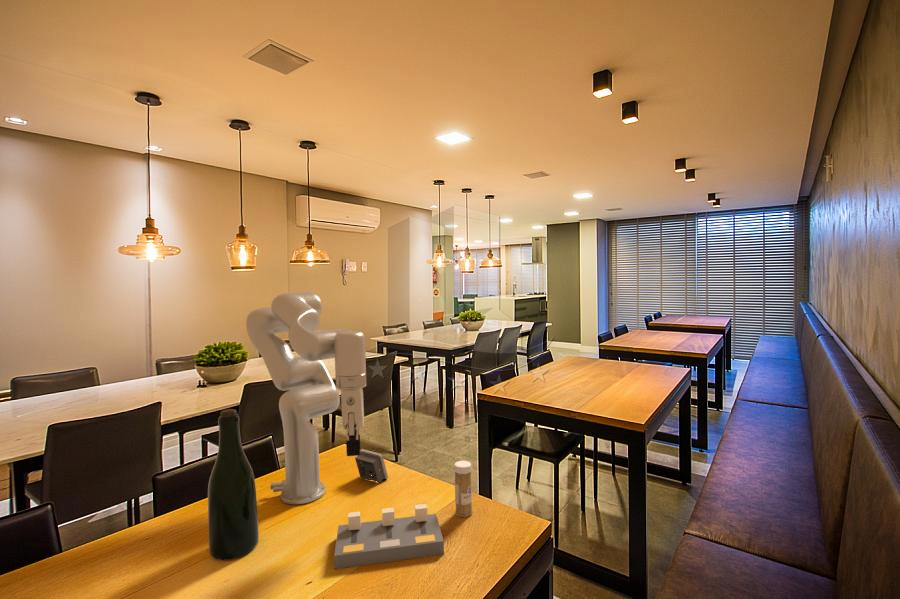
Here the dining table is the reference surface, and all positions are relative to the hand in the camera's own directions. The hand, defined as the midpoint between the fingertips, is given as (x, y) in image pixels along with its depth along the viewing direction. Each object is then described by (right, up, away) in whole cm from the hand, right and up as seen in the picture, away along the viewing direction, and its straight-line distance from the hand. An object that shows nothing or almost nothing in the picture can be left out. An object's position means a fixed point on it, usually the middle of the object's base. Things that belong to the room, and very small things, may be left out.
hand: (353, 452), depth 110 cm
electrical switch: (0, -18, +27) cm, 33 cm away
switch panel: (+10, -19, -8) cm, 23 cm away
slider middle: (+9, -16, -4) cm, 19 cm away
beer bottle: (-26, -20, -7) cm, 34 cm away
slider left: (+2, -16, -6) cm, 17 cm away
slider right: (+17, -15, -3) cm, 23 cm away
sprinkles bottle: (+28, -18, +6) cm, 34 cm away
